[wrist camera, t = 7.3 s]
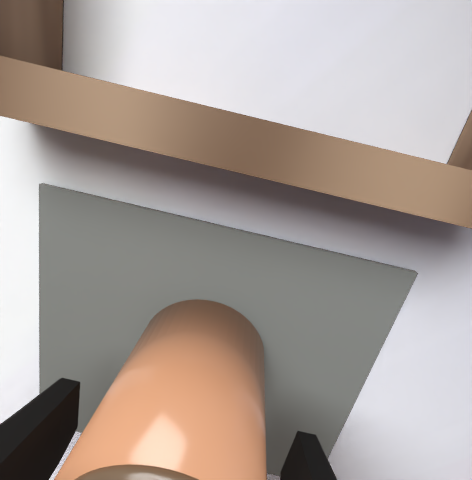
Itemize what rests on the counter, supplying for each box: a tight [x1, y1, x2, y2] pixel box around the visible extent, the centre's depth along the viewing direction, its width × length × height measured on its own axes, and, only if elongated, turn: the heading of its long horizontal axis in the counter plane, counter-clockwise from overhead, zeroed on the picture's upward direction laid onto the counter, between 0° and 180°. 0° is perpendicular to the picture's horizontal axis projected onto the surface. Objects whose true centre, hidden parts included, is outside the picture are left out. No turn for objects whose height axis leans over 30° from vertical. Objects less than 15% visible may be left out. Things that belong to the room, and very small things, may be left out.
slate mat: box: [39, 183, 418, 476], centre depth 13 cm, size 14×12×1 cm
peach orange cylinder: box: [54, 299, 267, 480], centre depth 9 cm, size 5×5×6 cm
